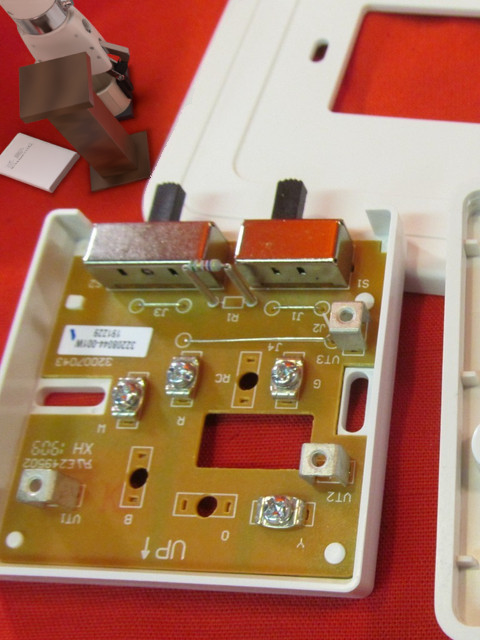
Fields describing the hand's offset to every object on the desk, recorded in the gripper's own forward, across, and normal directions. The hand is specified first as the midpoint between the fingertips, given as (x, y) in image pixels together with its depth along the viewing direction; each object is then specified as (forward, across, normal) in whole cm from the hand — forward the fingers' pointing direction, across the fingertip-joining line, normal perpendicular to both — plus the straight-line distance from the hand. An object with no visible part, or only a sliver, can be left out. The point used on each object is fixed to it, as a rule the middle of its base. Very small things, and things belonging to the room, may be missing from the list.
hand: (107, 98), depth 119 cm
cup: (+1, 0, 0) cm, 1 cm away
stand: (+2, 0, +13) cm, 13 cm away
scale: (+2, +2, -2) cm, 3 cm away
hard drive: (+2, +14, +9) cm, 16 cm away
